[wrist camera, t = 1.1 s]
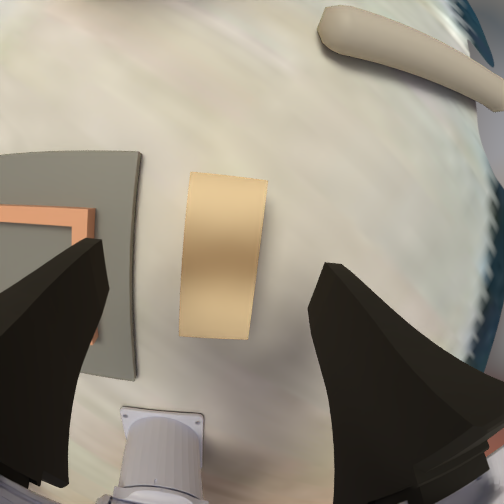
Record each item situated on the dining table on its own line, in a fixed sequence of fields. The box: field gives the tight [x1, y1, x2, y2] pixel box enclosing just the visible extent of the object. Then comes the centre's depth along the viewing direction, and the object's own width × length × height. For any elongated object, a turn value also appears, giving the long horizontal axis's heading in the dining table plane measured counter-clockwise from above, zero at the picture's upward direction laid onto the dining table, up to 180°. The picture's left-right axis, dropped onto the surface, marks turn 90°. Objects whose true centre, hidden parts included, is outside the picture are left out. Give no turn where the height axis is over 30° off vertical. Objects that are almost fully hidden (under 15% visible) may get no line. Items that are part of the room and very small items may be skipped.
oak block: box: [179, 172, 268, 340], centre depth 18 cm, size 9×4×6 cm, turn 173°
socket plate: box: [0, 151, 141, 381], centre depth 17 cm, size 18×20×2 cm
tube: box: [317, 5, 504, 112], centre depth 18 cm, size 5×5×25 cm
